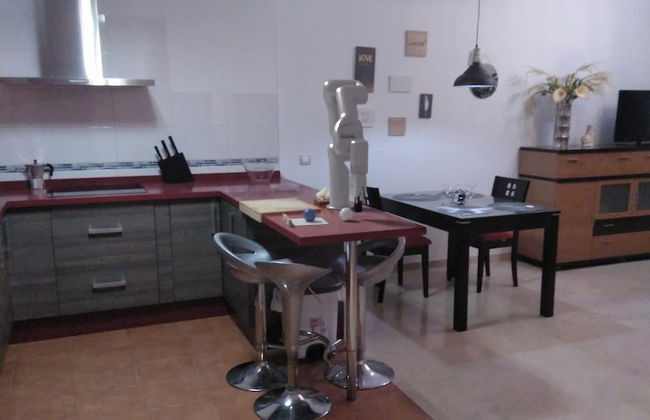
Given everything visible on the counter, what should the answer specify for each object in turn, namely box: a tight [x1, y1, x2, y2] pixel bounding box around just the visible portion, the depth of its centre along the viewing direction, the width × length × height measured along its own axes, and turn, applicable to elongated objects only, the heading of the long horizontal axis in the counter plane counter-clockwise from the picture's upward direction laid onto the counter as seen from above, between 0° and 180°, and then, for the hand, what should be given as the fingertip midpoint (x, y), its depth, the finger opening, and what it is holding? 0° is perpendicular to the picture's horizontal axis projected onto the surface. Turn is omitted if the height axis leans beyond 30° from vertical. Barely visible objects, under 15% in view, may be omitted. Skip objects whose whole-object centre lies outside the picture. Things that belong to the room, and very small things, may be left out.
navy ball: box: [302, 207, 317, 222], centre depth 223 cm, size 6×6×6 cm
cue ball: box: [339, 208, 354, 222], centre depth 224 cm, size 6×6×6 cm
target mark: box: [290, 217, 330, 227], centre depth 223 cm, size 14×14×1 cm
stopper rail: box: [282, 213, 293, 228], centre depth 220 cm, size 16×1×2 cm, turn 14°
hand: (358, 212), depth 228 cm, fingers closed
